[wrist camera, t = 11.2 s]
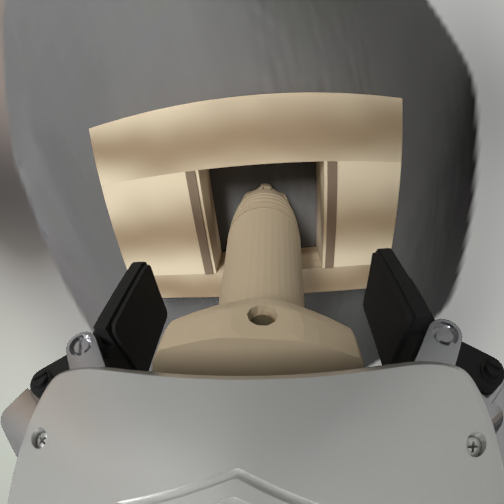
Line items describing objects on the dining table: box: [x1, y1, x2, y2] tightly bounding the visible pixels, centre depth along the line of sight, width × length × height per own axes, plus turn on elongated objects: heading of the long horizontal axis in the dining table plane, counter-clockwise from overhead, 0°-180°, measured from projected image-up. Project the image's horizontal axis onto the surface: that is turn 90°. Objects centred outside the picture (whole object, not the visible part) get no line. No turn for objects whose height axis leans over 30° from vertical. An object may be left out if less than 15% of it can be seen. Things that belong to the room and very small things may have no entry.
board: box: [89, 93, 403, 298], centre depth 19 cm, size 14×20×3 cm
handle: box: [152, 183, 365, 376], centre depth 14 cm, size 5×6×15 cm
